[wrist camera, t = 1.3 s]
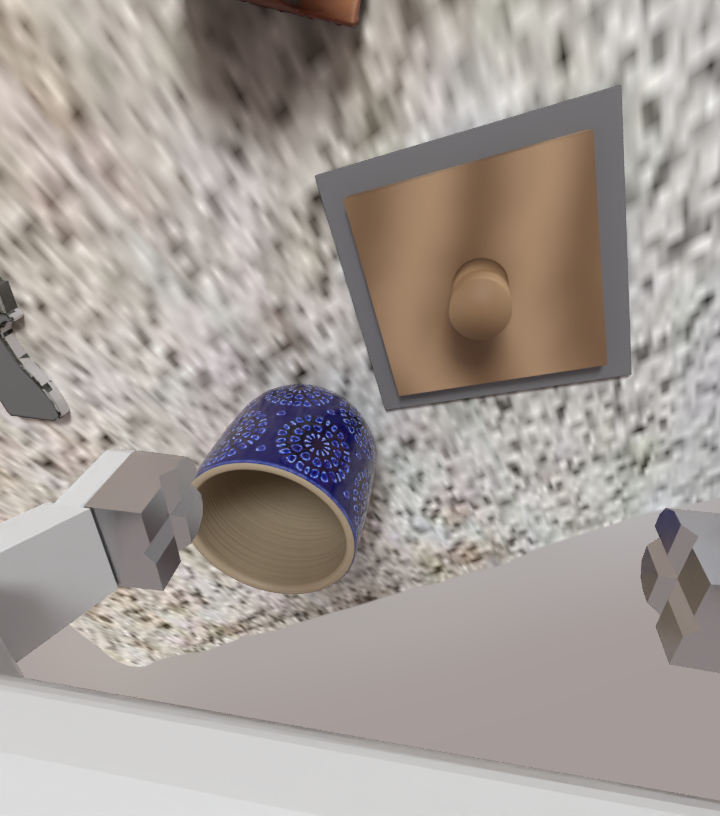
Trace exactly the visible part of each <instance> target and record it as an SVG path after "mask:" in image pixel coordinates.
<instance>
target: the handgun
mask: <svg viewBox="0 0 720 816" xmlns="http://www.w3.org/2000/svg"><path fill="white" fill-rule="evenodd" d="M23 316H24V315H23V313H22V311H21V310H20V309H19V308H17V304H16V302H15V299H14V296H13V293H12V291H11V288H10V285H9V282H8V281H3V280H2V278H1V277H0V401H1V402H2V404H3V405H4V407H5V409H6V411H7V412H8V413H9V414H10V415H11V416H19V417H26V418H34V419H42V420H50V421H56V420H59V419H60V418H61V417H63V416H64V415H65V414H66V413H67V412H69V410H70V409H69V406H68V404H67V402H66V400H65V399H64V397H63V395H62V394H61V393H60V391H59V390H58V389H57V387H56V386H55V385H54V384H53V382H52V381H51V380H50V379H49V378H48V377H47V376H46V375H45V374H44V373H43V372H42V371H41V370H40V369H39V368H38V367H37V366H36V364H35V363H34V362H33V361H32V360H31V358H30V357H29V356H28V354H27V353H26V352H25V350H24V349H23V347H22V345H21V344H20V342H19V341H18V339H17V338H16V336H15V335H14V333H13V330H12V322H15V321H17V320H18V319H20V318H22V317H23Z"/></svg>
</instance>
